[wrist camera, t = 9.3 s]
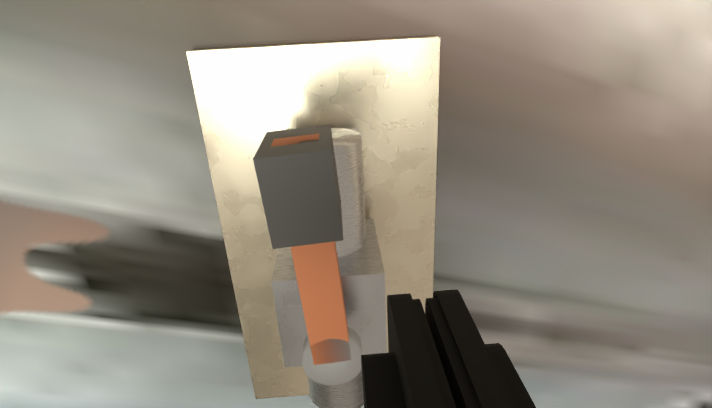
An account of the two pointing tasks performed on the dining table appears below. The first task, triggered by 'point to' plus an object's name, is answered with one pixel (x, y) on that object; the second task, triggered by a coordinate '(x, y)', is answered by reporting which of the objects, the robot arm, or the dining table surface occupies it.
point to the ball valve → (355, 177)
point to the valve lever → (310, 242)
